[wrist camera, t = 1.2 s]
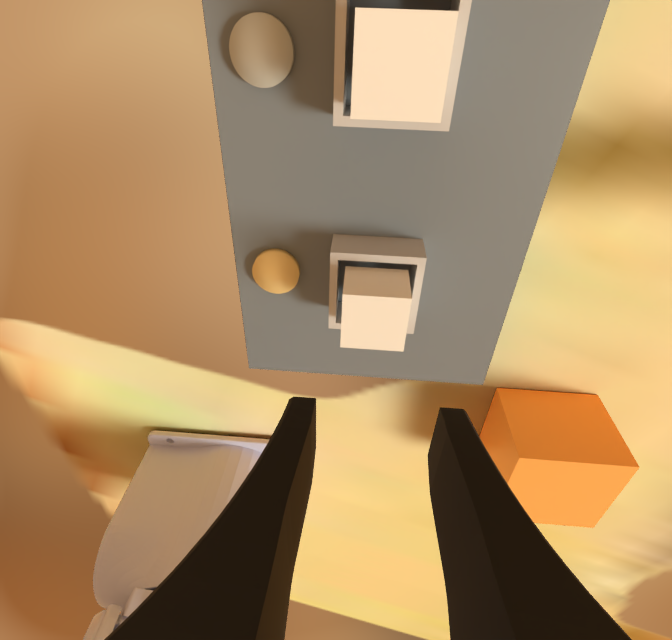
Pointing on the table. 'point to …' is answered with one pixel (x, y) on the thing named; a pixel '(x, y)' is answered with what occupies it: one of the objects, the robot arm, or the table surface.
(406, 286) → the button
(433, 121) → the button
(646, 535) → the table surface
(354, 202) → the breaker panel
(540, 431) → the orange block
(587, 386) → the table surface
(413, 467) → the table surface
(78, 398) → the table surface
